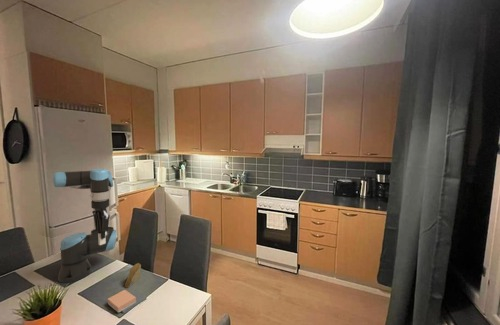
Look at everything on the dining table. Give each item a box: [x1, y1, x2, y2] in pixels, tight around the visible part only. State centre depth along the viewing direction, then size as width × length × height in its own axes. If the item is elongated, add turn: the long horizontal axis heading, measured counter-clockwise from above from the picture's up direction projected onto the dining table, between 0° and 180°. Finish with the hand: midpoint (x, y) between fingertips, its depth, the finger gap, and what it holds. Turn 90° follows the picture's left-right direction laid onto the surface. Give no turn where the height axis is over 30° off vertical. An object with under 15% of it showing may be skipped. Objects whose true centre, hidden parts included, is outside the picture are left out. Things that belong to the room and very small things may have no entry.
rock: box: [124, 262, 142, 289], centre depth 120 cm, size 11×9×10 cm
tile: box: [107, 289, 136, 313], centre depth 103 cm, size 2×8×10 cm
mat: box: [120, 290, 147, 314], centre depth 105 cm, size 10×11×1 cm
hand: (102, 243), depth 112 cm, fingers closed
